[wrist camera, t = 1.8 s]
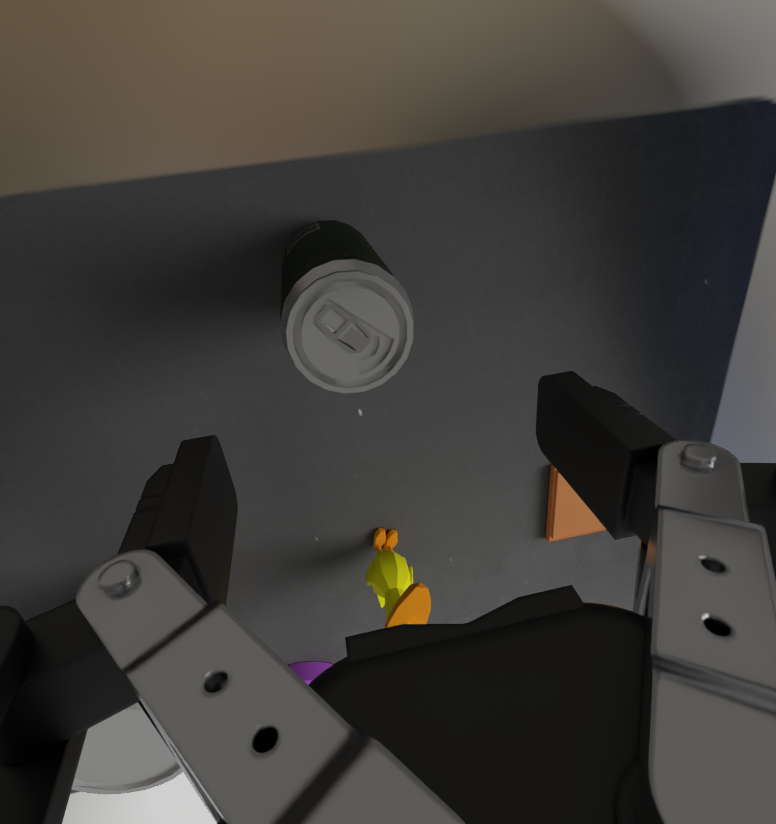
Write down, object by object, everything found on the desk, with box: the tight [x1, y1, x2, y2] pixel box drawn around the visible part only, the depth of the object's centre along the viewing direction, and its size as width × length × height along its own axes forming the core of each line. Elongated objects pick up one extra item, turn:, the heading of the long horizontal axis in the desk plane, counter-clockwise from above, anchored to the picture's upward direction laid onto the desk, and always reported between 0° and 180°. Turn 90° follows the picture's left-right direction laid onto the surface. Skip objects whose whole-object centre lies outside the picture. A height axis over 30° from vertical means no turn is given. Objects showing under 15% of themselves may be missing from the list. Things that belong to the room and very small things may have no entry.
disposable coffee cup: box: [71, 703, 183, 794], centre depth 34 cm, size 10×10×12 cm
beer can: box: [280, 220, 413, 393], centre depth 24 cm, size 5×5×12 cm
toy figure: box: [366, 528, 431, 628], centre depth 35 cm, size 7×4×12 cm, turn 163°
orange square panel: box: [546, 465, 606, 542], centre depth 42 cm, size 8×8×1 cm
